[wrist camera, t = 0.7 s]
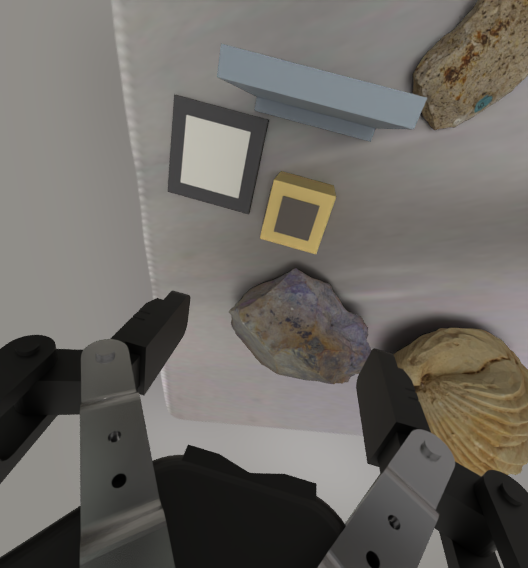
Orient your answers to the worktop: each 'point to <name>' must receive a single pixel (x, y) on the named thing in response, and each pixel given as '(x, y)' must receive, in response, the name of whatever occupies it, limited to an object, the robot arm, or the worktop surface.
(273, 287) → the stone
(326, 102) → the screen
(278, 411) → the worktop surface
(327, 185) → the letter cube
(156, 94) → the worktop surface
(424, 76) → the rock
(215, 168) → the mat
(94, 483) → the robot arm
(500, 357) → the fossil
